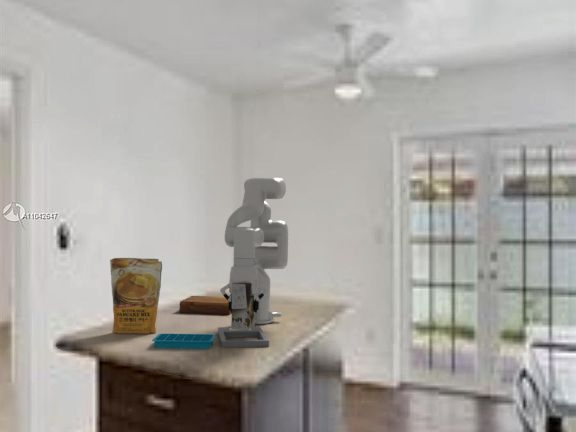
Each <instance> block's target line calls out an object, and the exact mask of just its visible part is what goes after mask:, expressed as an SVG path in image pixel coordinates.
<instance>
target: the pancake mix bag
mask: <svg viewBox="0 0 576 432" xmlns="http://www.w3.org/2000/svg"><path fill="white" fill-rule="evenodd" d="M109 263H110V277H111V280H110V281H111V283H110V284H111V295H112V312H113V326H112V330H111V332H112V333H113V334H114V333H115V334H117V335H118V334H122V335H124V334H125V335H126V334H127V335H150V333H151V334H156V333H157V330H156V329H157V328H156V322H157V316H158V307H159V300H160V291H161V288H162V287H161V285H162V270H163V264H162V261H159V259H158V258H140V257H139V258H138V257H114V258H112V259H110V260H109Z"/></svg>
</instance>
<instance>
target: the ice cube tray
mask: <svg viewBox="0 0 576 432" xmlns="http://www.w3.org/2000/svg"><path fill="white" fill-rule="evenodd" d="M215 337H216V334H215V333H213V334H212V333H167V332H166V333H162V332H161V333H158V334H157V335H155V337H153V338H152V340H151V341H152V342H154V348H155V349H181V348H183V349H184V348H185V350H186V349H189V350H190V349H191V350H192V349H193V350H195V349H196V350H201V349H202V350H208V349H210V348H211V346H212V345H213V343H214V340H215Z"/></svg>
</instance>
